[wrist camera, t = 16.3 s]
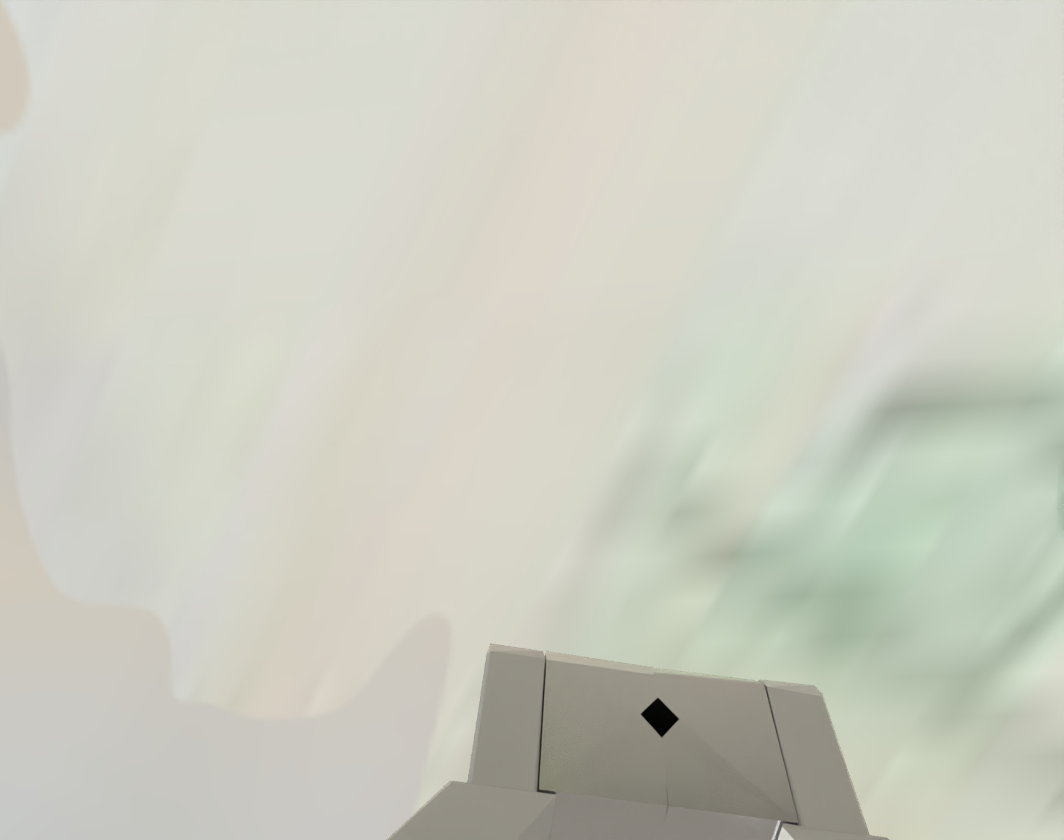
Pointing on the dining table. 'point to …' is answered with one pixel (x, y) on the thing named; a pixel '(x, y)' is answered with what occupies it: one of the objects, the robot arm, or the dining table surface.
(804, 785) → the robot arm
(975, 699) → the dining table surface
